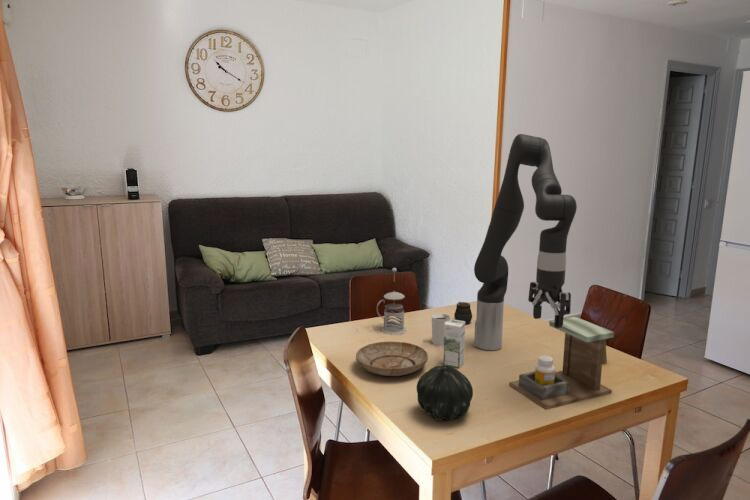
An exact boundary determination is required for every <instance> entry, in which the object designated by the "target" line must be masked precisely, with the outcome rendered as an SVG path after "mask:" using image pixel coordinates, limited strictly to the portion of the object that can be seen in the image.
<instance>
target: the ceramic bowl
mask: <svg viewBox="0 0 750 500" xmlns="http://www.w3.org/2000/svg"><path fill="white" fill-rule="evenodd" d="M358 349H359V350H357V351H356V354H355V360H356V362H357V364H358V365H359V366H360V367H361V368H363V369H364V370H365V371H368V372H370V373H371V374H374V375H378V376H379V375H380V376H384V377H401V376H407V375H408V374H412V373H414V372H417V371H418V370H420V369H422V367H424V366H425V365H426V363H427V362H428V360H429V354H428V352H427V350H425V348H423V347H421V346H419V345H417V344H413V343H410V342H404V341H402V342H401V341H380V342H374V343H373V342H372V343H371V344H367V345H365V346H363V347H361V348H358Z"/></svg>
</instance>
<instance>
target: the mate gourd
mask: <svg viewBox="0 0 750 500" xmlns="http://www.w3.org/2000/svg"><path fill="white" fill-rule="evenodd" d="M472 319H473V313H472V309H471V303H469V302H466V301H458V302H457V303H456V309H455V312H454V320H460V321H465V325H467V324H470V323H471V322H472Z"/></svg>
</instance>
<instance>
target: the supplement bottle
mask: <svg viewBox="0 0 750 500" xmlns="http://www.w3.org/2000/svg"><path fill="white" fill-rule="evenodd" d="M537 359H538V360H537V361H538V363H536V365H535V369H534V371H535V382H537V383H539V384H540V385H542V386H545V385H550V384H554V378H555V372H556V368H555V365H553V363H554V358H553V356H552V357H551V356H549V355H540V356H538V358H537Z"/></svg>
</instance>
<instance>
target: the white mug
mask: <svg viewBox="0 0 750 500" xmlns="http://www.w3.org/2000/svg"><path fill="white" fill-rule="evenodd" d="M448 319H451V315H449V314H445V313H433V314H432V315H431V337H432V338H431V343H432V344H433V345H435V346H441V347H442V346H443V347H444V324H445V322H446V321H447V320H448Z"/></svg>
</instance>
